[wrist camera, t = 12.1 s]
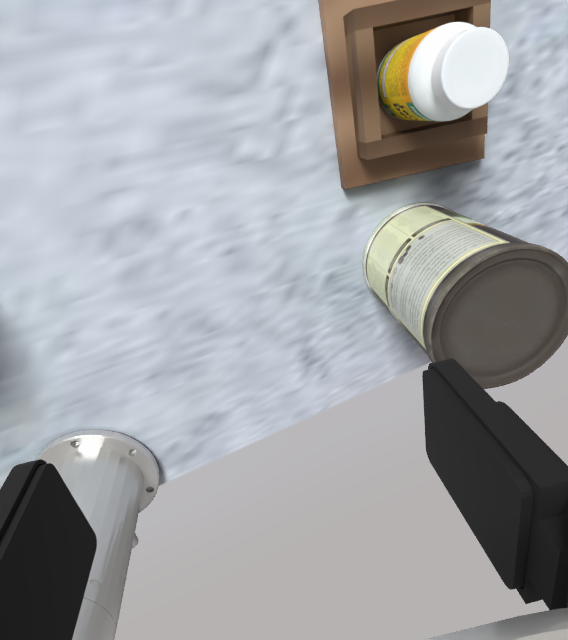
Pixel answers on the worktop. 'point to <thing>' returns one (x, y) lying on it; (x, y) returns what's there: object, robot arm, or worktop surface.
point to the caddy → (362, 92)
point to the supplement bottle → (442, 73)
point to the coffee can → (469, 291)
